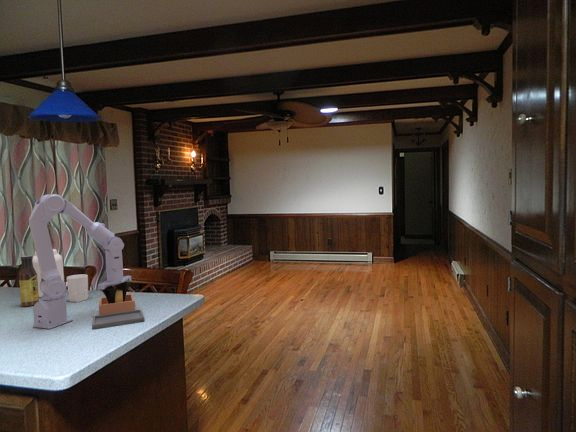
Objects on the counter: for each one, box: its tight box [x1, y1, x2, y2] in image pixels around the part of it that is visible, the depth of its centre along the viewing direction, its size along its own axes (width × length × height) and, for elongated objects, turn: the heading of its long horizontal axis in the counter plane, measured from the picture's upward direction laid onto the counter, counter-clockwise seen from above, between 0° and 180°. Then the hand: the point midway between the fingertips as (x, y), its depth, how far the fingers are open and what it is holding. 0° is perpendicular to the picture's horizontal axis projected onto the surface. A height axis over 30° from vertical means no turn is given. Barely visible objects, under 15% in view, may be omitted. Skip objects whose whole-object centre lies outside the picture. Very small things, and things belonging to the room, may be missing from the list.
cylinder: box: [115, 290, 123, 303], centre depth 155 cm, size 4×4×6 cm
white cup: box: [66, 273, 89, 303], centre depth 172 cm, size 8×8×10 cm
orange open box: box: [98, 293, 136, 315], centre depth 156 cm, size 12×12×4 cm
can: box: [32, 248, 65, 299], centre depth 184 cm, size 12×12×20 cm
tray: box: [91, 309, 145, 330], centre depth 142 cm, size 11×16×1 cm
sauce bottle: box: [18, 255, 40, 307], centre depth 167 cm, size 7×6×20 cm
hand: (116, 304), depth 156 cm, fingers closed on cylinder, 4 cm apart
